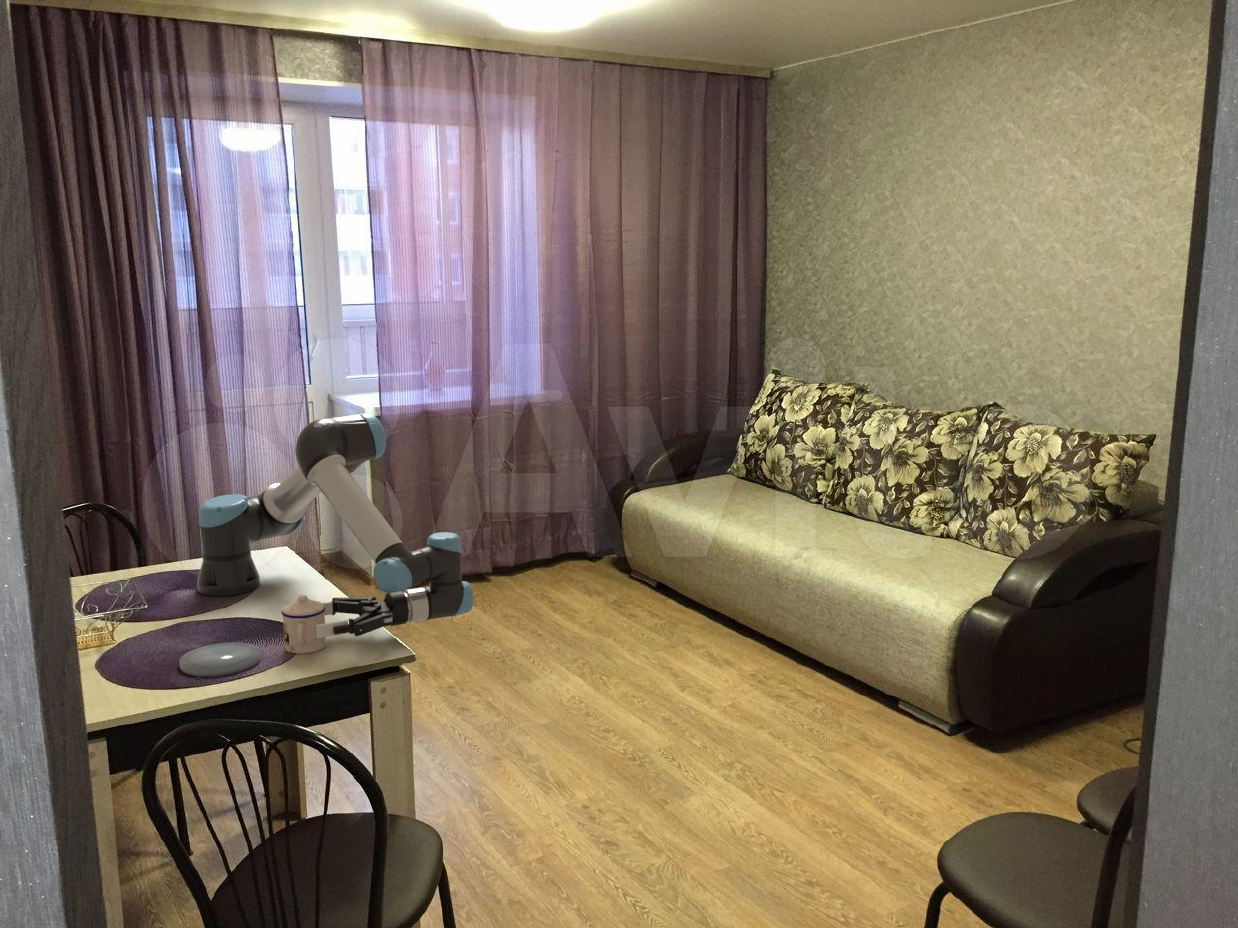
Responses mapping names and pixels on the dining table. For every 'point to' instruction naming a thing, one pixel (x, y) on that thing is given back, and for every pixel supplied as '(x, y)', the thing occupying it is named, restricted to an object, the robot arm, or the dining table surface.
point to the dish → (220, 659)
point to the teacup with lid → (303, 625)
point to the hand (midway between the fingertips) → (309, 621)
